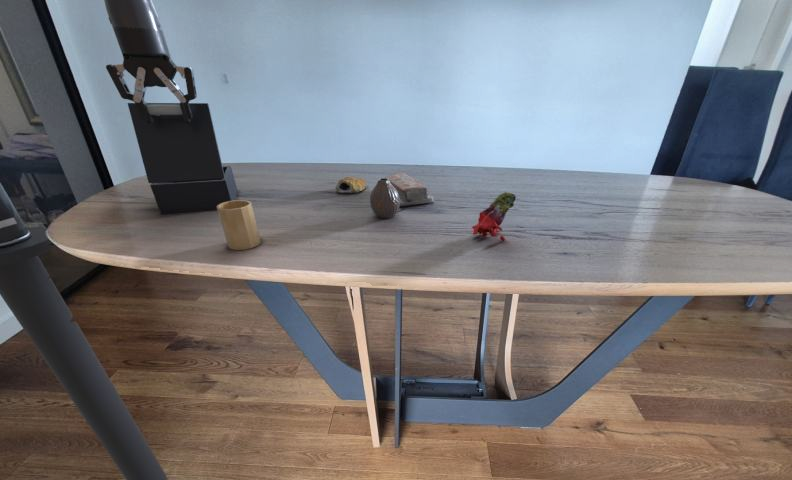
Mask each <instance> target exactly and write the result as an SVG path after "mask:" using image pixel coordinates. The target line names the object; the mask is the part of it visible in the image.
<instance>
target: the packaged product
mask: <svg viewBox="0 0 792 480" xmlns="http://www.w3.org/2000/svg"><path fill="white" fill-rule="evenodd" d="M384 178H387V179H389V181H390V183H391V184H392V185H393V187H394V188H395V189H396V190H397V192H398V195H399V198H400V206H399V207H407V206H414V205H415V206H416V205H423V204H430V203H434V196H432V195H430V194H429V193H428V188H427V187H426V186H425V185H424V184H422V183H420V182H419V181H418V180H416V179H414V178H413V177H411V176H409V175H407V174H406V173H403V172H400V171H399V172H396V173H393V174H390V175H386V176H385V177H384Z"/></svg>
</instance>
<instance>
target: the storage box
mask: <svg viewBox="0 0 792 480" xmlns="http://www.w3.org/2000/svg"><path fill="white" fill-rule="evenodd" d="M222 166H223V165H222ZM223 171H224V175H225V179H210V180H194V181H178V182H162V183H150V185H149V186H150V189H151V191H152V194H153V198H154V200H155V202H156V204H157V207H158V210H159V213H160V215H169V214H171V215H172V214H182V213H191V212H202V211H203V212H204V211H215V210H217V205H219V204H221V203H224V202H227V201H234V200H236V199H237V196H238V195H237V194H238V188H237V183H236V180H235V176H234V172H233V168H232V165H227V166H226V165H224V166H223Z"/></svg>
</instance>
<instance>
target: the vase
mask: <svg viewBox="0 0 792 480" xmlns="http://www.w3.org/2000/svg"><path fill="white" fill-rule="evenodd" d="M369 202H370V203H369V204H370V208H371V210H372V212H373V214H374V215H375V216H377V217H378V218H380V219H391V218H394V217H395V216H396V215H397V213H398V212H399V209H400V207H401V206H400V198H399V195H398V192H397V190H396V189H395V188H394V187H393V185H392V184H391V183H390V181H389V179H387V178H385V177H383V178H381V177H380V178H378V179H377V182H376V184H375V186H373V189H372V190H371V192H370V197H369Z"/></svg>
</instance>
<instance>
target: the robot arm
mask: <svg viewBox="0 0 792 480" xmlns="http://www.w3.org/2000/svg"><path fill="white" fill-rule="evenodd" d="M103 1H104V6H105V10H106V13H107V16H108V20H109V23H110V25H111V27H112V29H113V33H114V36H115V38H116V42H117V44H118V46H119V49H120V52H121V55H122V58H123V59H122V60H123V61H122V63H120V64H114V63H113V64H112V63H111V64H106V66H105V69H106V71H107V73H108V75H109V76H110V79H111V80H112V82H113V84H114V86H115V88H116V90H117V92H118V94H119V96H120V97H121V99H123V100H127V101H132V102H133V103H136V105H137V108H138V111H139V113H140V116H141V118H142V119H143V120H146V122H147V123H152V122H153V120H152V117H151V115H150V114H149V112H148V110H147V103H148V102H146V101H145V96H146V92H147V90H148V88H153V87H159V88H167V89H168V90H169V91H170V92H171V93H172V94H173V95H174V96H175V97H176V99H177V100H178V101H179V102H178V103H179V104H180V108H181V111H182V114H183V117H184V120H185V122H190V119H192V113H191V109H190V106H189V103H190V102H191V101H193V100H195V99H197V97H198V95H197V87H196V81H195V74H194V69H193V68H192V67H191V66H179V65H177V64H176V63H175V62H174V61H173V60H172V57H171V54H170V53H171V52H170V51H169V47H168V44H167V41H166V37H165V34H164V31H163V28H162V24H161V21H160V17H159V15H158V11H157V9H156V7H155V4H154V3H153V0H103ZM125 71H126V72H127V73H129V75H131V76H132V77H133V78H134V79H135V83H134V91H133V93H132V92H131V90H130V88H129V86H128V84H127V82H126V80H125V79H124V77H125ZM177 72H178V74H180V76H181V78H182V79H184V80H185V85H186V91H187V93H184V92H183V91H182V89H181V87H180V86H179V85H178V84H177V82H176V81H175V80H174V78H175V76H176V74H177ZM27 227H28V226H26V224H25V223H24V221H23V219H22V218H21V215H20V214H19V213H18V211H17V209H16V207H15V206H14V204H13V202H12V200H11V198H10V197H9V195H8V193H7V192H6V190H5V187H4V186H3V185H2V183H1V182H0V248H4V247H8V246H12V245H16V244H18V243H21V242H24V241H26V240H28V239H29V238H30V237H31V234H30V232H29V231H28V230H27Z"/></svg>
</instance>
